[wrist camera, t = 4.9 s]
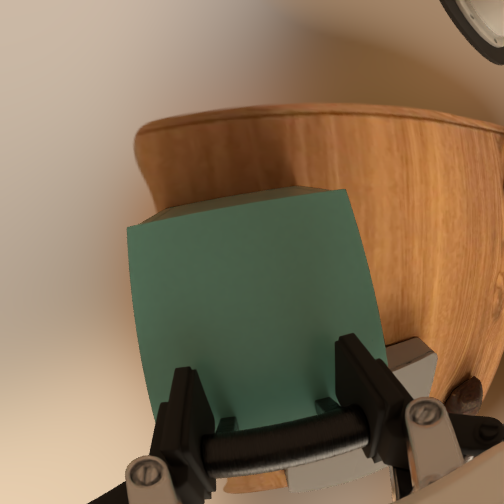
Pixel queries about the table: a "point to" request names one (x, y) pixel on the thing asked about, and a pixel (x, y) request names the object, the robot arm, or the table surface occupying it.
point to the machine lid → (258, 324)
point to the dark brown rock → (466, 398)
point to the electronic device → (355, 463)
